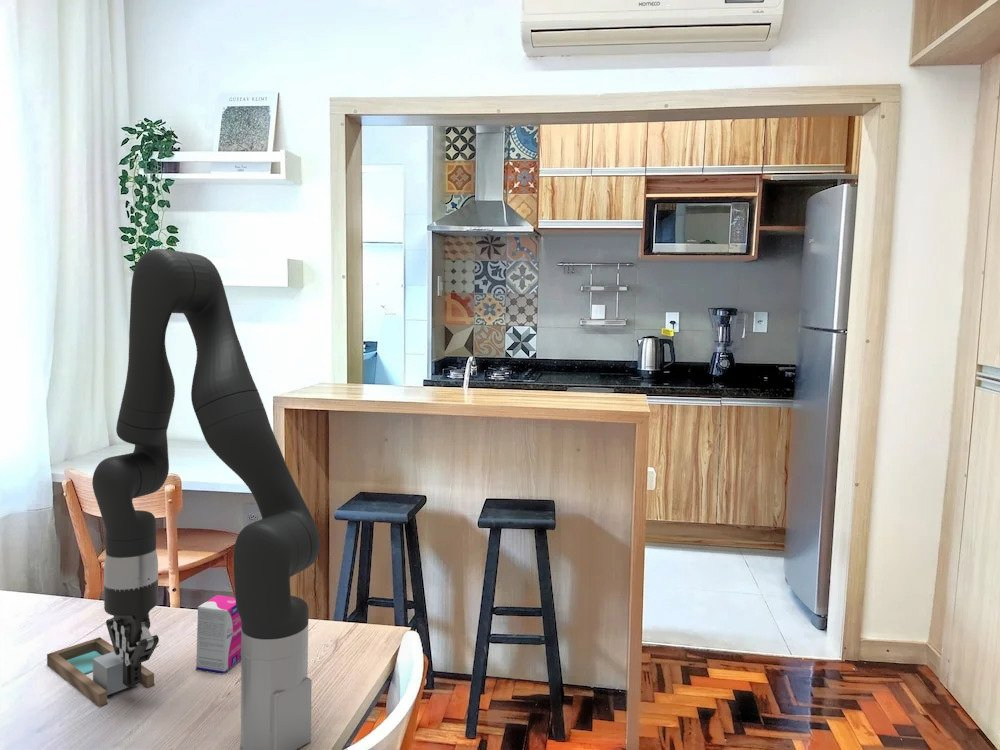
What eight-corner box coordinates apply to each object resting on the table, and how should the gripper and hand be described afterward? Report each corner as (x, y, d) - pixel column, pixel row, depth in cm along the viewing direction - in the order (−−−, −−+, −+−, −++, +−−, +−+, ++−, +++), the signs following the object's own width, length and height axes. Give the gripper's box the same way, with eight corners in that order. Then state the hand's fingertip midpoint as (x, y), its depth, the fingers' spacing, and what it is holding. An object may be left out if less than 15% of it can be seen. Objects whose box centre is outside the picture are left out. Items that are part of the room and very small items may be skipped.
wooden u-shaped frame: (154, 684, 114) (154, 673, 114) (99, 706, 107) (98, 694, 107) (99, 647, 126) (99, 637, 126) (47, 665, 119) (47, 654, 119)
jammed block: (138, 683, 113) (138, 656, 113) (106, 695, 109) (106, 668, 109) (124, 673, 116) (124, 647, 116) (93, 685, 112) (92, 658, 112)
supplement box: (225, 675, 118) (226, 610, 117) (195, 670, 119) (195, 606, 118) (244, 659, 123) (245, 597, 123) (215, 655, 125) (215, 593, 124)
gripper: (176, 582, 107) (176, 689, 108) (135, 562, 115) (136, 662, 116) (126, 596, 101) (127, 709, 102) (87, 574, 109) (88, 679, 110)
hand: (131, 684), depth 109 cm, fingers closed
